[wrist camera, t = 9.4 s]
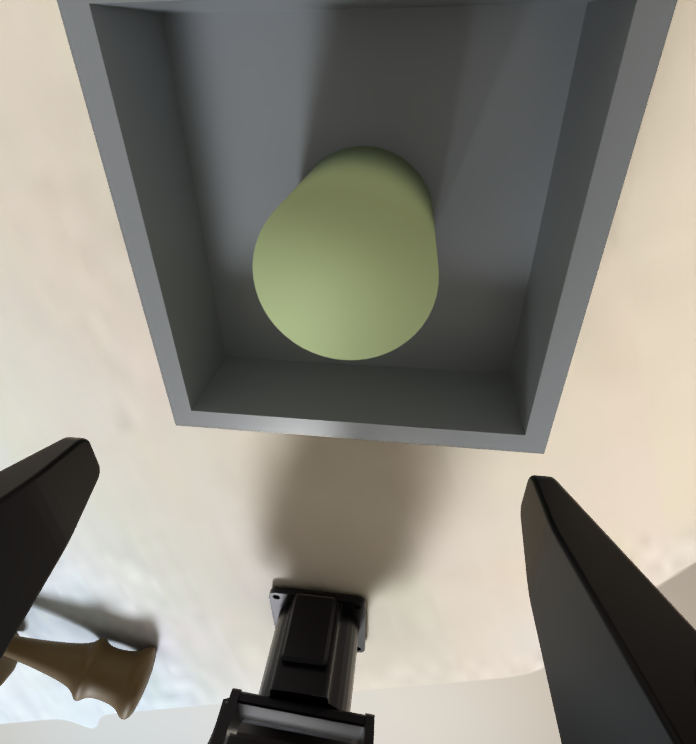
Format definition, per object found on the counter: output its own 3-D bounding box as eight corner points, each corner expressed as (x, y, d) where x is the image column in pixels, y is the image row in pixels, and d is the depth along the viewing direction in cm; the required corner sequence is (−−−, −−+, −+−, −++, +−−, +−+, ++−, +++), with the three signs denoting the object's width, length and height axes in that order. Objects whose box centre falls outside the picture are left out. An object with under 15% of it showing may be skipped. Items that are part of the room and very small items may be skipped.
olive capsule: (428, 287, 18) (430, 364, 14) (300, 283, 19) (263, 355, 14) (439, 146, 16) (448, 183, 11) (290, 145, 16) (240, 181, 12)
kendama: (153, 669, 44) (-73, 605, 41) (172, 620, 39) (-85, 542, 36) (122, 747, 39) (-138, 680, 36) (138, 703, 34) (-163, 620, 31)
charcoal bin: (522, 382, 21) (543, 453, 17) (216, 363, 23) (175, 425, 19) (619, -34, 13) (696, -67, 9) (140, -17, 15) (45, -40, 11)
